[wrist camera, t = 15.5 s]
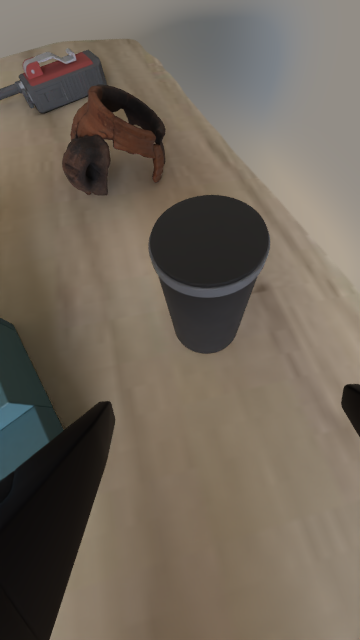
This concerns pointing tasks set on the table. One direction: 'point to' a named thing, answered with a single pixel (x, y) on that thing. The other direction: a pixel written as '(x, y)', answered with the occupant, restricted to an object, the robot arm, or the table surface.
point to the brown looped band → (110, 137)
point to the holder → (208, 266)
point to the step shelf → (21, 405)
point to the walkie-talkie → (57, 79)
